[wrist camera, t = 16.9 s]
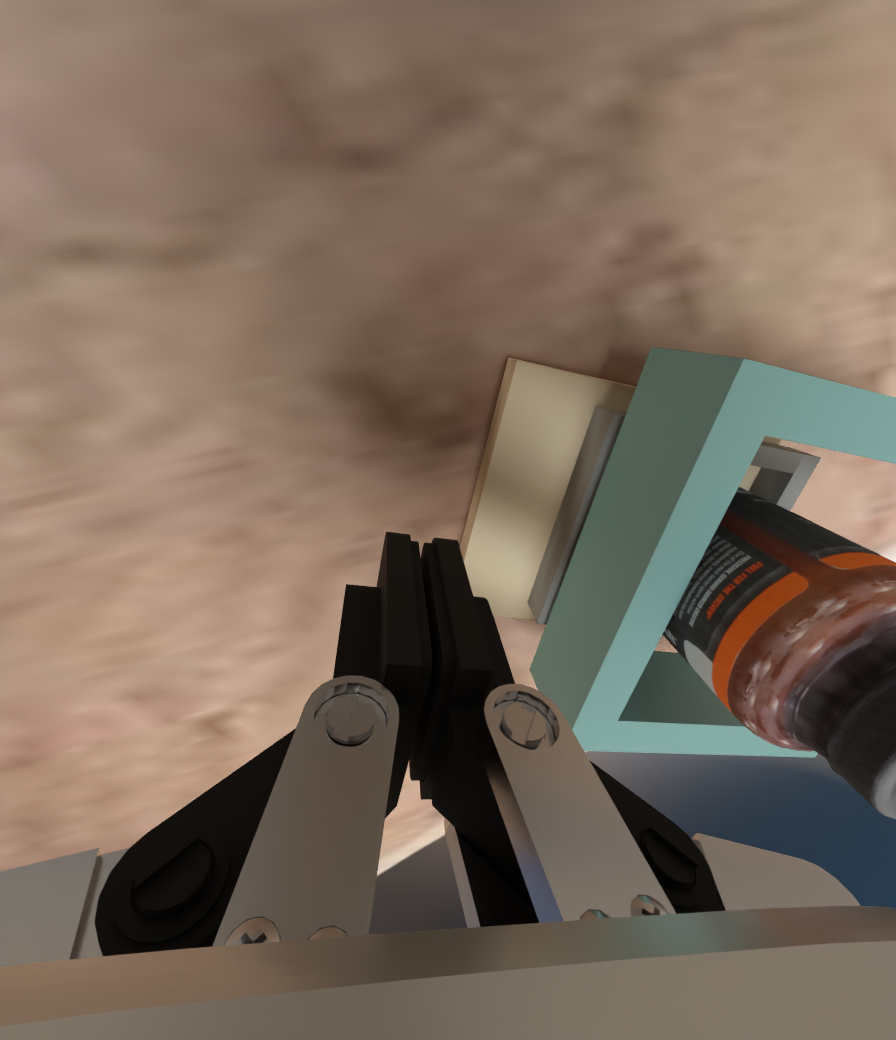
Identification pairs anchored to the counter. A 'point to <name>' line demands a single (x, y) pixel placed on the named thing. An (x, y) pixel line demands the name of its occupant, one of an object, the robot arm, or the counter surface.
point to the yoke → (678, 543)
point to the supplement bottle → (798, 639)
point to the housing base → (564, 482)
